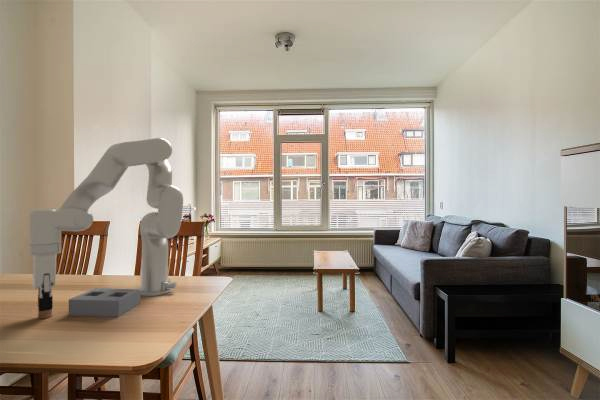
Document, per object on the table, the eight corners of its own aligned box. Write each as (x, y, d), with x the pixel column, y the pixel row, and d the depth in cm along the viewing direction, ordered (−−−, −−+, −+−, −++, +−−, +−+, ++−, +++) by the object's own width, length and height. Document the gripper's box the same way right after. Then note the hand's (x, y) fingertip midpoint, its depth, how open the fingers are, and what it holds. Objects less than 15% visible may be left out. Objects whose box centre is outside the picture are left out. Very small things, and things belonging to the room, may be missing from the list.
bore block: (139, 303, 107) (140, 289, 107) (118, 316, 95) (118, 301, 95) (95, 302, 107) (95, 288, 107) (68, 315, 95) (68, 299, 95)
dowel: (54, 314, 95) (54, 282, 95) (45, 318, 92) (45, 285, 92) (44, 314, 95) (44, 282, 95) (35, 318, 92) (35, 285, 92)
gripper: (28, 246, 96) (27, 304, 97) (30, 254, 85) (29, 319, 85) (58, 244, 102) (57, 298, 102) (64, 251, 90) (63, 313, 90)
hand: (45, 307), depth 93 cm, fingers closed on dowel, 3 cm apart
